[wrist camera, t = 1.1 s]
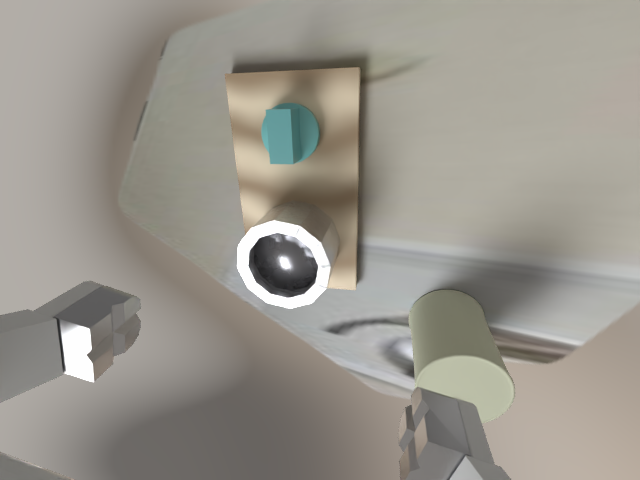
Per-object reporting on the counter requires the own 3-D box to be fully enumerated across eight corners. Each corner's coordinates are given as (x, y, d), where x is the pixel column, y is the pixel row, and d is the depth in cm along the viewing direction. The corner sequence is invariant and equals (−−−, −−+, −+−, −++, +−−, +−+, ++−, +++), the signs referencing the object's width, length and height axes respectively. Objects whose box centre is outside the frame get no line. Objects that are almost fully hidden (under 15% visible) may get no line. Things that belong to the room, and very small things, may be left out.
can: (397, 332, 44) (399, 408, 34) (427, 278, 40) (441, 344, 30) (462, 357, 44) (485, 442, 33) (499, 305, 40) (539, 382, 29)
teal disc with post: (263, 103, 34) (246, 104, 30) (319, 102, 33) (309, 102, 29) (268, 160, 37) (253, 168, 33) (320, 161, 36) (311, 169, 32)
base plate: (231, 74, 35) (224, 73, 34) (360, 68, 33) (359, 67, 31) (255, 276, 45) (251, 281, 44) (356, 284, 43) (355, 290, 41)
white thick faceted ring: (291, 184, 37) (270, 201, 31) (356, 238, 38) (349, 265, 32) (246, 241, 42) (221, 267, 35) (306, 289, 43) (292, 322, 36)
